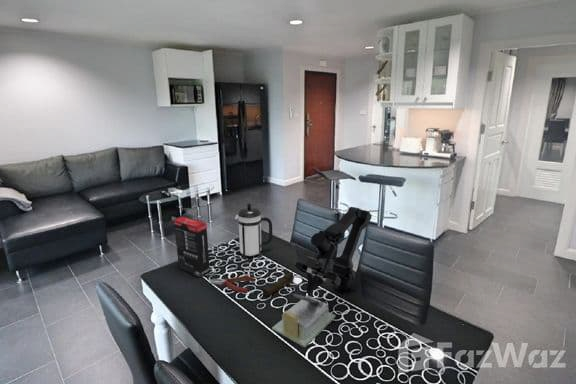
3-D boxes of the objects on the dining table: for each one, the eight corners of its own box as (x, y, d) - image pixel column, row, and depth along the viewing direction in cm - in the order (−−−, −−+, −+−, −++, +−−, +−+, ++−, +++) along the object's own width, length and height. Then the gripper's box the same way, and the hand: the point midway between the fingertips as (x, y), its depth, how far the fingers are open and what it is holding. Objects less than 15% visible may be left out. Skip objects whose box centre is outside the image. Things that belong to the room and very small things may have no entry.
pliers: (215, 276, 156) (215, 271, 155) (254, 281, 152) (254, 276, 151) (205, 289, 145) (204, 284, 144) (246, 294, 141) (246, 289, 140)
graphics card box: (211, 272, 159) (207, 221, 152) (200, 278, 153) (196, 226, 146) (188, 263, 168) (183, 215, 161) (177, 269, 162) (172, 219, 155)
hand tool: (268, 298, 138) (267, 289, 136) (262, 295, 140) (261, 285, 139) (297, 282, 151) (297, 273, 149) (291, 279, 153) (291, 270, 152)
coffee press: (254, 263, 168) (252, 209, 160) (231, 255, 176) (229, 204, 169) (273, 251, 182) (272, 201, 174) (251, 244, 190) (250, 197, 183)
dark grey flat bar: (310, 300, 126) (311, 298, 126) (318, 304, 124) (319, 302, 124) (292, 295, 115) (293, 293, 116) (301, 299, 113) (302, 297, 113)
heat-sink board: (304, 302, 134) (305, 284, 132) (335, 317, 125) (336, 297, 123) (272, 329, 118) (271, 308, 116) (304, 347, 109) (305, 325, 107)
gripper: (297, 242, 125) (279, 278, 120) (338, 255, 114) (320, 296, 108) (308, 253, 133) (291, 287, 128) (347, 266, 122) (331, 305, 116)
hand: (307, 293), depth 120 cm, fingers closed
